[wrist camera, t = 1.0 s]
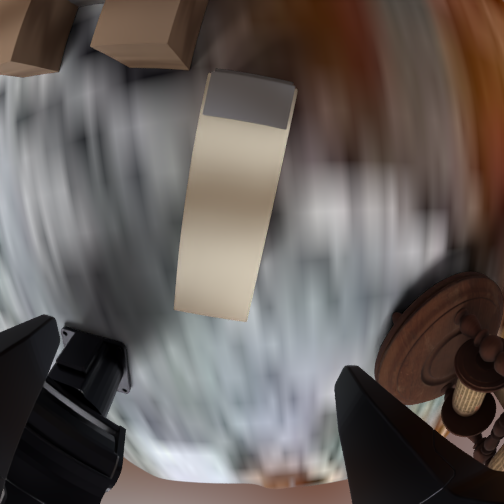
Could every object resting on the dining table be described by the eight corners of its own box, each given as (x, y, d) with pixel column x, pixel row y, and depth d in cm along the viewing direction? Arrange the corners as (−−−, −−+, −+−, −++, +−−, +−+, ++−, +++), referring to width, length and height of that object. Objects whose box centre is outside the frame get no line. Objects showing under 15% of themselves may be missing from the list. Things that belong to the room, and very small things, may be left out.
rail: (245, 280, 20) (246, 327, 15) (188, 270, 20) (172, 314, 15) (284, 97, 16) (301, 79, 11) (219, 85, 15) (209, 62, 10)
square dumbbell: (189, 70, 15) (167, 43, 10) (22, 77, 13) (-25, 72, 8) (214, -18, 12) (205, -62, 7) (46, 1, 11) (8, -18, 6)
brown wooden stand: (477, 354, 25) (557, 470, 6) (371, 405, 26) (425, 562, 8) (495, 243, 20) (642, 365, 1) (362, 298, 21) (492, 546, 2)
